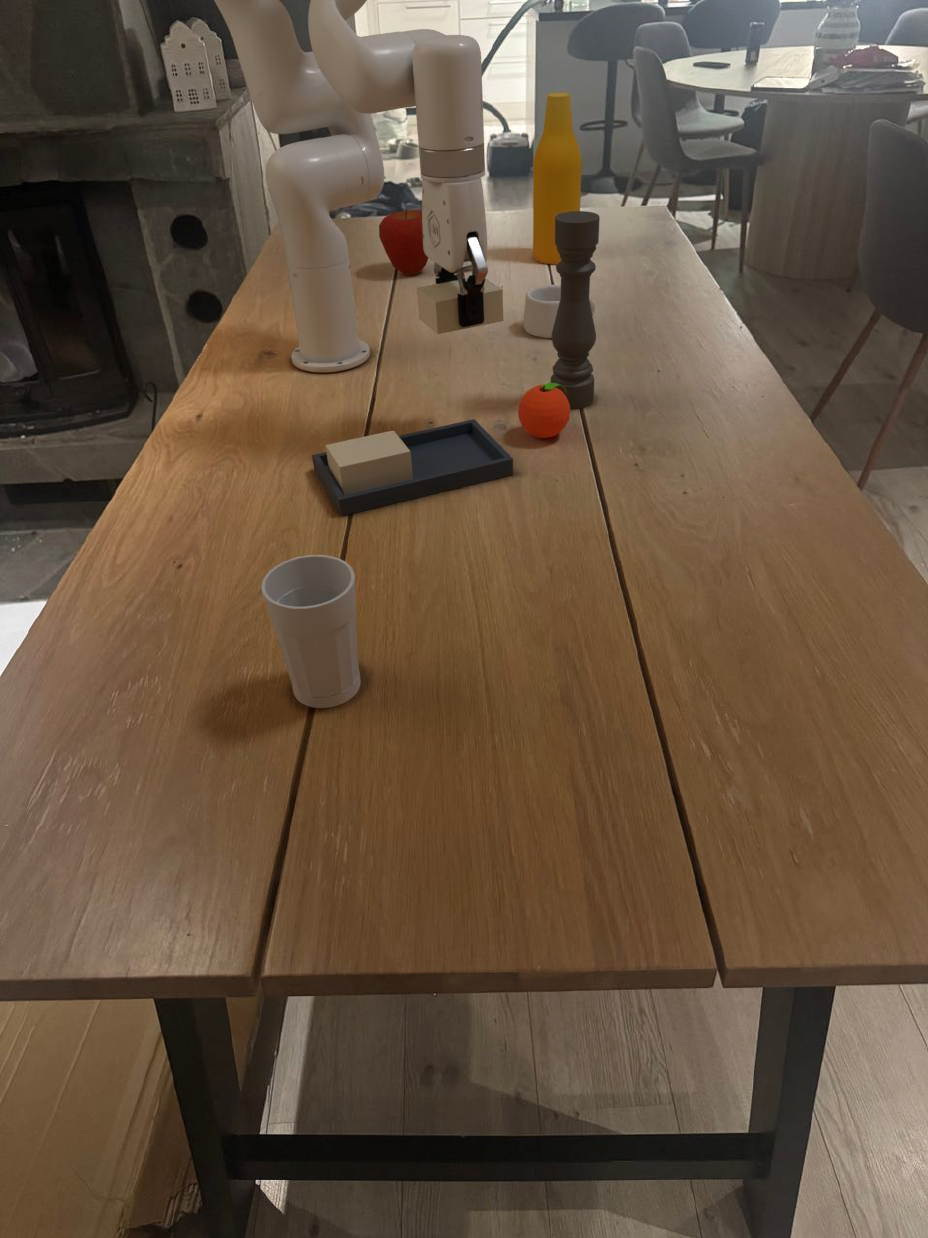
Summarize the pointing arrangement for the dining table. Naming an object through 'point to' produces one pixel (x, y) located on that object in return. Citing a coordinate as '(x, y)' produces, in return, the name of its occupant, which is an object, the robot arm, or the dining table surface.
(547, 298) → the mug
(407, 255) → the apple
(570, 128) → the beer bottle
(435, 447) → the dark grey flat tray
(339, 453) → the block
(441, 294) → the beige rectangular block
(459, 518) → the dining table surface
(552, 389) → the clementine
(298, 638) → the cup
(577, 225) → the candle holder
